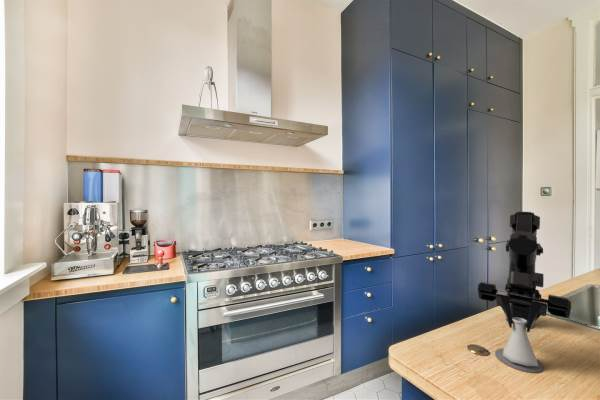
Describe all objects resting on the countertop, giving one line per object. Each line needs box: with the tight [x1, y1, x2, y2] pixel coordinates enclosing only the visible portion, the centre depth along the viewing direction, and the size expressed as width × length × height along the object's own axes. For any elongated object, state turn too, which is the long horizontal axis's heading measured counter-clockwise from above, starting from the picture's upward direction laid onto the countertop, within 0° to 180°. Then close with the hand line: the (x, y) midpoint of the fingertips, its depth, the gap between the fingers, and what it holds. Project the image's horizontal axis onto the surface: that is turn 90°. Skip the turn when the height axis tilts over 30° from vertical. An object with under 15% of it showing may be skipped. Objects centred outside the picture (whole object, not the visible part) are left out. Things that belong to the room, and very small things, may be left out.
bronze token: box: [466, 343, 490, 357], centre depth 73 cm, size 5×5×1 cm
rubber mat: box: [494, 348, 544, 374], centre depth 69 cm, size 10×10×1 cm
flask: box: [502, 317, 538, 366], centre depth 69 cm, size 7×7×10 cm
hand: (519, 329), depth 68 cm, fingers closed on flask, 3 cm apart
